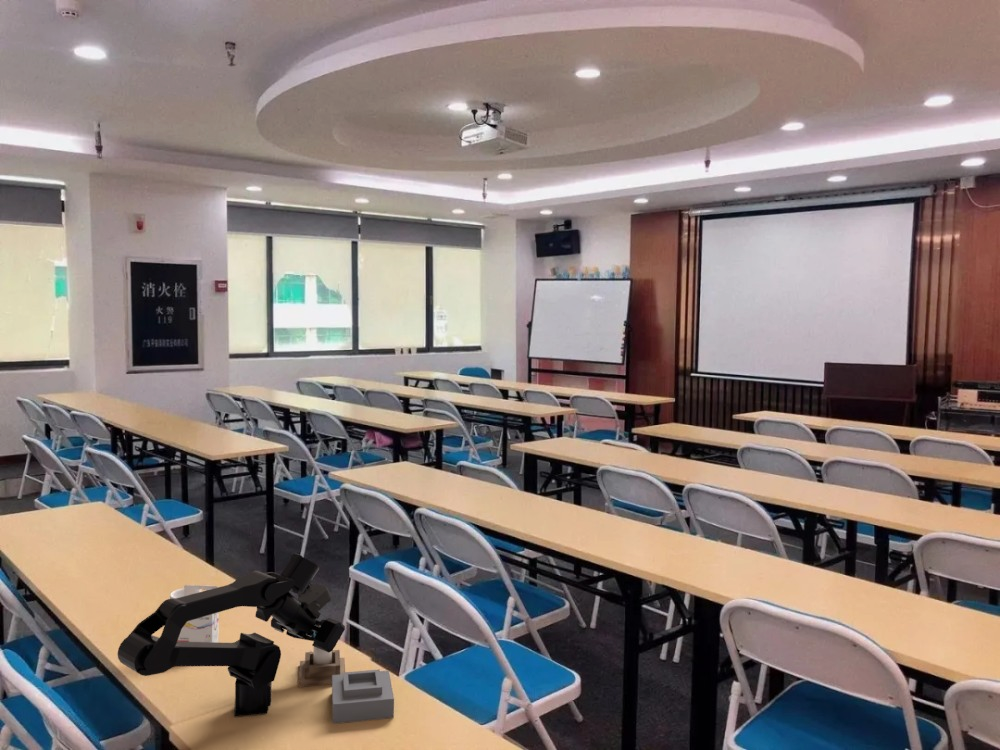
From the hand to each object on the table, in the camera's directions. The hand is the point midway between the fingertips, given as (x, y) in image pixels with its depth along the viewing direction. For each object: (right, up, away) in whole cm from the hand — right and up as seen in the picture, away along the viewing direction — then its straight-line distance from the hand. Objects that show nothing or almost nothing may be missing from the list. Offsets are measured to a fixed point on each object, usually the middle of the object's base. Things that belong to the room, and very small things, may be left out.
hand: (327, 642), depth 168 cm
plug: (-1, -5, -1) cm, 5 cm away
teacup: (-45, -3, +31) cm, 55 cm away
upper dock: (+10, -8, -13) cm, 19 cm away
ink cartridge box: (-33, -5, +10) cm, 35 cm away
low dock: (-1, -7, -1) cm, 7 cm away
